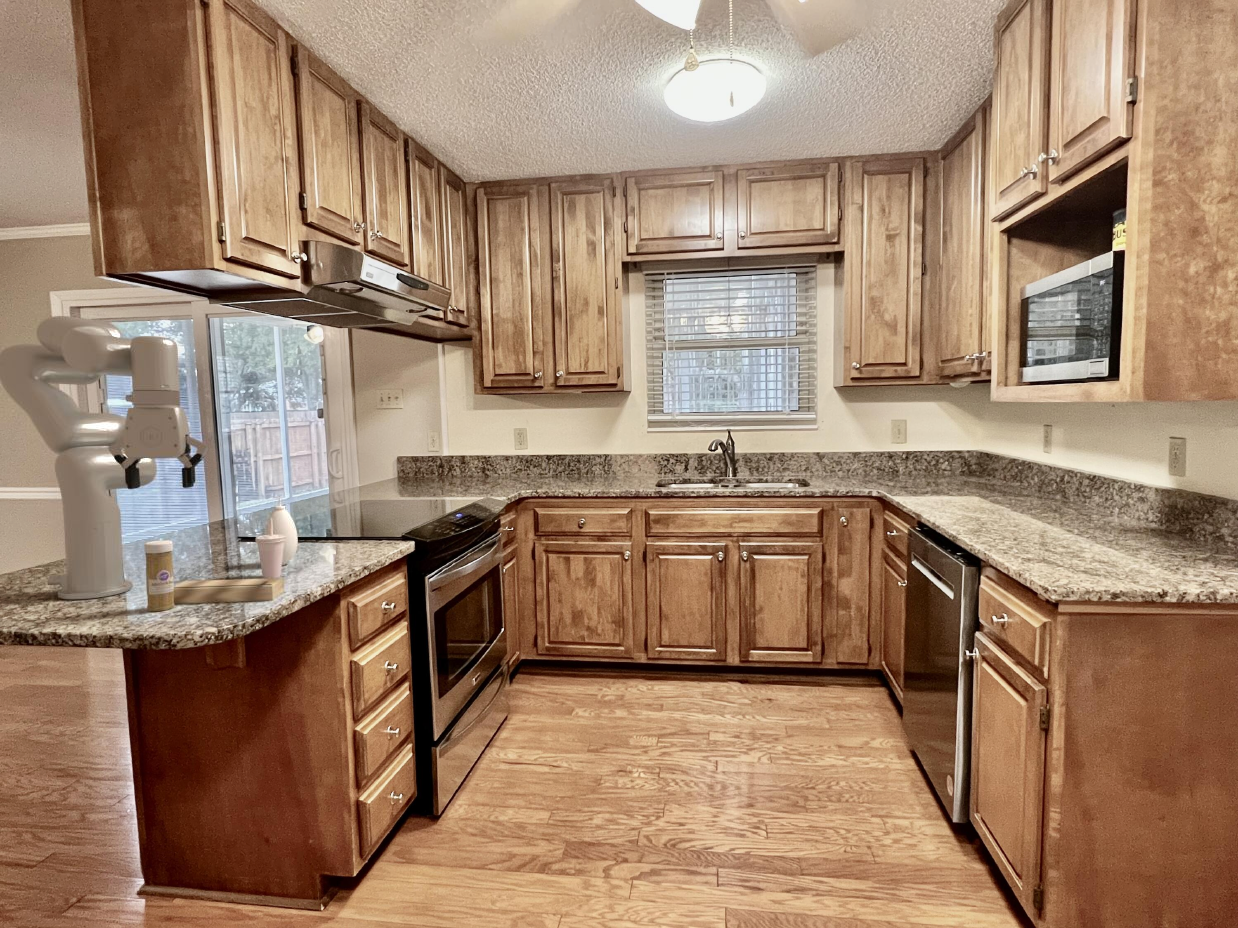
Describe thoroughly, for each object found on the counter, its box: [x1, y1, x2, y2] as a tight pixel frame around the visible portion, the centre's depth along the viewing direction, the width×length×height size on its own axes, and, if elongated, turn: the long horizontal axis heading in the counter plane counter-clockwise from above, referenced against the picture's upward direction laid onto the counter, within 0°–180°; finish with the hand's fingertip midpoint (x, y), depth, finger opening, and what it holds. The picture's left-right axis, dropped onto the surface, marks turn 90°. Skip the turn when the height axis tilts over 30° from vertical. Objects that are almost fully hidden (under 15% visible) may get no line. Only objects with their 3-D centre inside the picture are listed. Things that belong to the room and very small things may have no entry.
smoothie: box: [255, 518, 286, 579], centre depth 155 cm, size 6×6×14 cm
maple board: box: [173, 577, 285, 605], centre depth 137 cm, size 20×7×3 cm, turn 100°
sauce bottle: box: [263, 496, 299, 566], centre depth 167 cm, size 8×8×18 cm
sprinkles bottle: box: [144, 540, 176, 612], centre depth 128 cm, size 5×5×13 cm
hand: (161, 487), depth 128 cm, fingers open, 9 cm apart
